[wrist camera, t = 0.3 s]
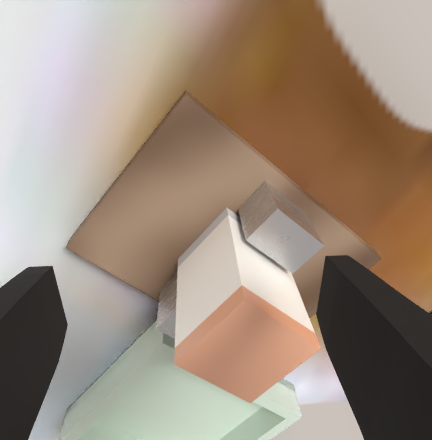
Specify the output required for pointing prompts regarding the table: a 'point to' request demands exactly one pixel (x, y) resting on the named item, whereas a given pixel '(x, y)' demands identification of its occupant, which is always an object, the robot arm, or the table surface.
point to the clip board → (207, 211)
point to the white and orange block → (238, 313)
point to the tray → (172, 402)
